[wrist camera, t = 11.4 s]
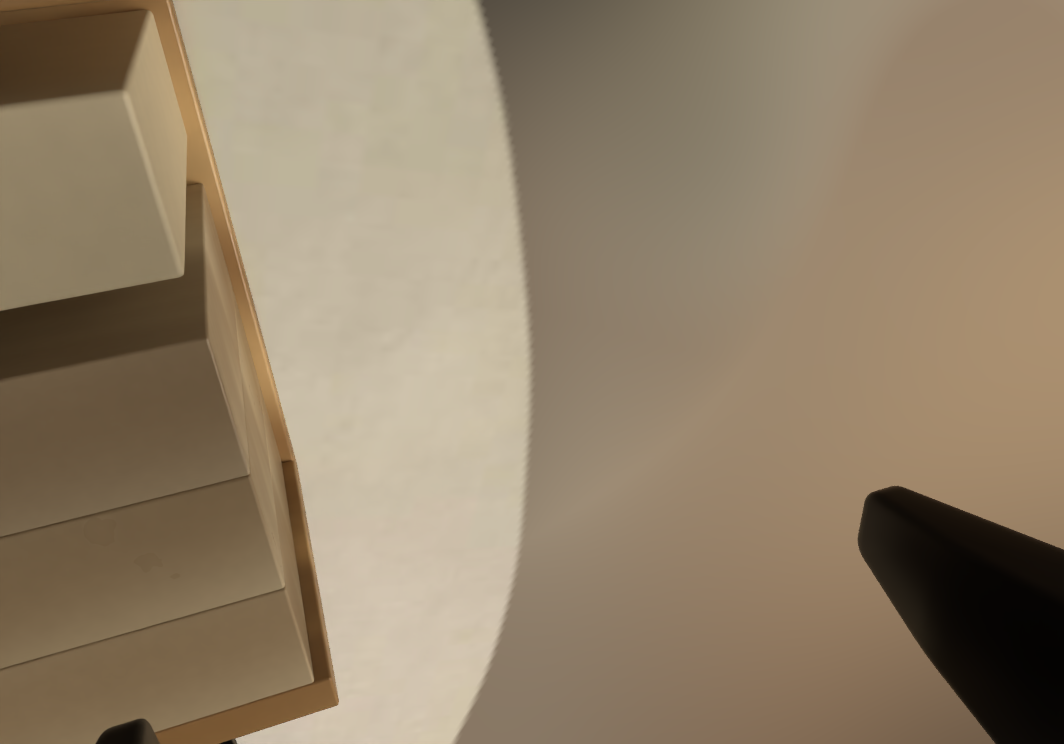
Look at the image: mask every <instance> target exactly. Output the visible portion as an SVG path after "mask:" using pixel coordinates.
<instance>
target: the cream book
mask: <svg viewBox="0 0 1064 744" xmlns="http://www.w3.org/2000/svg"><path fill="white" fill-rule="evenodd" d="M186 167H187V134H186V130H185V126H184V123H183V119H182V116H181V112H180V109H179V105H178V101H177V98H176V94H175V91H174V87H173V84H172V80H171V76H170V73H169V69H168V66H167V62H166V59H165V55H164V51H163V48H162V44H161V41H160V37H159V34H158V30H157V26H156V23H155V19H154V16H153V14H152V12H151V11H149V10H138V11H129V12H120V13H111V14H102V15H93V16H84V17H75V18H65V19H56V20H47V21H38V22H29V23H20V24H11V25H2V26H0V311H2V310H7V309H13V308H18V307H23V306H29V305H34V304H39V303H45V302H50V301H55V300H61V299H66V298H71V297H77V296H82V295H88V294H93V293H98V292H104V291H109V290H114V289H120V288H125V287H130V286H136V285H141V284H146V283H152V282H157V281H162V280H168V279H173V278H179V277H181V276H182V275H184V264H185V216H186Z"/></svg>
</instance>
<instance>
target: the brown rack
mask: <svg viewBox="0 0 1064 744" xmlns="http://www.w3.org/2000/svg"><path fill="white" fill-rule="evenodd" d="M138 10H149V11H151V12H152V14H153V16H154V19H155V23H156V26H157V30H158V34H159V37H160V41H161V44H162V48H163V51H164V55H165V59H166V62H167V66H168V69H169V73H170V76H171V80H172V84H173V87H174V91H175V94H176V98H177V101H178V105H179V109H180V112H181V116H182V119H183V123H184V126H185V130H186V134H187V167H186V216H185V264H184V275H182V276H181V277H179V278H173V279H168V280H162V281H157V282H152V283H146V284H141V285H136V286H130V287H125V288H120V289H114V290H109V291H104V292H98V293H93V294H88V295H82V296H77V297H71V298H66V299H61V300H55V301H50V302H45V303H39V304H34V305H29V306H23V307H18V308H13V309H7V310H2V311H0V744H95V743H96V742H97V740H98V738H99V737H100V735H101V734H102V733H103V732H104V731H105V730H106V729H108V728H110V727H113V726H116V725H119V724H123V723H126V722H129V721H132V720H136V719H142V718H143V719H146V720H147V721H148V722H149V723H150V725H151V726H152V728H153V730H154V732H155V734H156V736H157V739H158V741H159V743H160V744H219V743H222V742H225V741H229V740H232V739H235V738H238V737H241V736H244V735H247V734H250V733H253V732H256V731H259V730H263V729H266V728H269V727H272V726H275V725H278V724H281V723H284V722H287V721H290V720H293V719H297V718H300V717H303V716H306V715H309V714H312V713H315V712H318V711H321V710H324V709H327V708H331V707H334V706H336V705H338V703H339V699H338V693H337V688H336V682H335V676H334V671H333V665H332V659H331V654H330V648H329V642H328V637H327V631H326V625H325V620H324V614H323V608H322V603H321V597H320V591H319V586H318V580H317V574H316V569H315V563H314V557H313V552H312V546H311V540H310V535H309V529H308V523H307V518H306V512H305V506H304V501H303V495H302V489H301V484H300V478H299V473H298V467H297V463H296V459H295V455H294V452H293V448H292V444H291V440H290V437H289V433H288V429H287V426H286V422H285V418H284V414H283V411H282V407H281V403H280V399H279V396H278V392H277V388H276V385H275V381H274V377H273V373H272V370H271V366H270V362H269V359H268V355H267V351H266V347H265V344H264V340H263V336H262V332H261V329H260V325H259V321H258V318H257V314H256V310H255V306H254V303H253V299H252V295H251V292H250V288H249V284H248V280H247V277H246V273H245V269H244V266H243V262H242V258H241V254H240V251H239V247H238V243H237V239H236V236H235V232H234V228H233V225H232V221H231V217H230V213H229V210H228V206H227V202H226V199H225V195H224V191H223V187H222V184H221V180H220V176H219V172H218V169H217V165H216V161H215V158H214V154H213V150H212V146H211V143H210V139H209V135H208V132H207V128H206V124H205V120H204V117H203V113H202V109H201V106H200V102H199V98H198V94H197V91H196V87H195V83H194V79H193V76H192V72H191V68H190V65H189V61H188V57H187V53H186V50H185V46H184V42H183V39H182V35H181V31H180V27H179V24H178V20H177V16H176V12H175V9H174V5H173V1H172V0H0V26H2V25H11V24H20V23H29V22H38V21H47V20H56V19H65V18H75V17H84V16H93V15H102V14H111V13H120V12H129V11H138Z"/></svg>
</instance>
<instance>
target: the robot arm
mask: <svg viewBox="0 0 1064 744" xmlns="http://www.w3.org/2000/svg"><path fill="white" fill-rule="evenodd" d="M858 546H859V550H860V552H861V555H862V557H863V558H864V560H865V562H866V563H867V565H868V566H869V568H870V569H871V570H872V572H873V574H874V576H875V577H876V579H877V580H878V582H879V583H880V585H881V586H882V588H883V590H884V591H885V592H886V594H887V596H888V597H889V599H890V601H891V602H892V604H893V605H894V607H895V608H896V610H897V611H898V613H899V615H900V616H901V618H902V619H903V621H904V622H905V624H906V625H907V627H908V629H909V630H910V632H911V633H912V635H913V636H914V638H915V639H916V641H917V642H918V644H919V645H920V647H921V648H922V649H923V651H924V652H925V654H926V655H927V657H928V658H929V659H930V661H931V662H932V663H933V665H934V666H935V667H936V669H937V670H938V671H939V672H940V674H941V675H942V676H943V678H944V679H945V680H946V681H947V683H949V685H950V686H951V688H952V689H953V690H954V692H955V693H956V694H957V695H958V697H959V698H960V699H961V700H962V702H963V703H964V704H965V705H966V707H967V708H968V709H969V710H970V712H971V713H972V714H973V716H974V717H975V718H976V719H977V721H978V722H979V723H980V725H981V726H982V727H983V728H984V730H985V731H986V732H987V733H988V735H989V736H990V737H991V738H992V740H993V741H994V742H995V744H1064V550H1063V549H1061V548H1058V547H1055V546H1053V545H1050V544H1048V543H1045V542H1043V541H1040V540H1037V539H1035V538H1032V537H1029V536H1027V535H1025V534H1022V533H1019V532H1016V531H1014V530H1011V529H1009V528H1007V527H1004V526H1001V525H998V524H996V523H994V522H991V521H988V520H986V519H983V518H981V517H978V516H976V515H973V514H970V513H968V512H965V511H963V510H960V509H958V508H955V507H952V506H950V505H947V504H944V503H942V502H940V501H937V500H935V499H932V498H929V497H927V496H924V495H922V494H919V493H917V492H914V491H911V490H909V489H906V488H903V487H899V486H891V487H888V488H884V489H882V490H878V491H875V492H872V493H870V494H869V495H868V496H867V498H866V500H865V503H864V508H863V513H862V518H861V523H860V528H859V533H858ZM95 744H160V743H159V741H158V739H157V736H156V734H155V732H154V730H153V728H152V726H151V725H150V723H149V722H148V721H147V720H146V719H143V718H142V719H136V720H132V721H129V722H126V723H123V724H119V725H116V726H113V727H110V728H108V729H106V730H105V731H104V732H103V733H102V734H101V735H100V737H99V738H98V740H97V742H96V743H95ZM219 744H237V742H236V740H235V739H232V740H229V741H225V742H222V743H219Z"/></svg>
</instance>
